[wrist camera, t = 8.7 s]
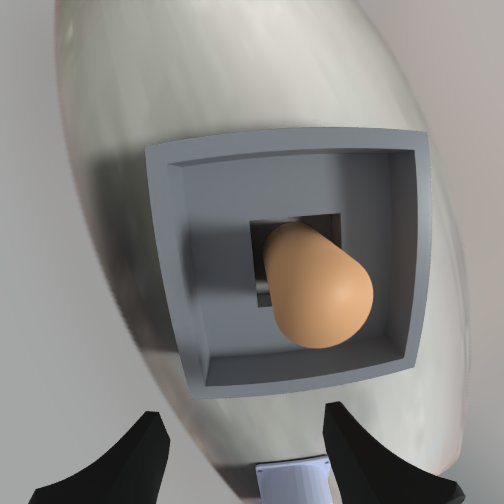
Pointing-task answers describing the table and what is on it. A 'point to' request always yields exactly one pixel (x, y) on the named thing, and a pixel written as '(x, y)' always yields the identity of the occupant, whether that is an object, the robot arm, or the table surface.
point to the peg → (314, 287)
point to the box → (280, 206)
